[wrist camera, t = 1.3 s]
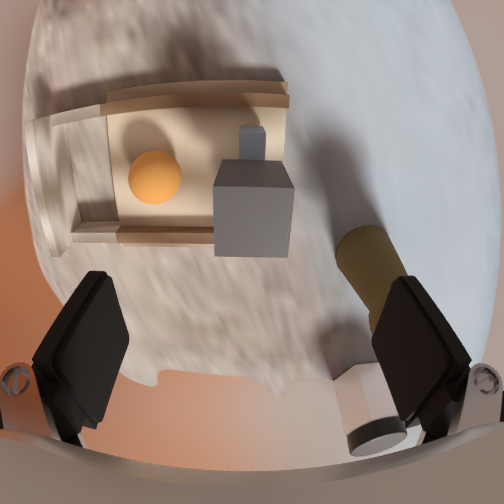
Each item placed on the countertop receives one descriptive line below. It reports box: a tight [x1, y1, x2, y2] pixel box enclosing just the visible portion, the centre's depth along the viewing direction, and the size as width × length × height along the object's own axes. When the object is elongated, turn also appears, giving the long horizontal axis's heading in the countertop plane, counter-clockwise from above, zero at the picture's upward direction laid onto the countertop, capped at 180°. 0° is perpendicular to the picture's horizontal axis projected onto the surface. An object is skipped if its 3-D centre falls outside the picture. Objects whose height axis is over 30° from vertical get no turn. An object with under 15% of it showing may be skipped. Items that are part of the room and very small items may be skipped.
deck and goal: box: [24, 80, 289, 257], centre depth 21 cm, size 14×20×5 cm
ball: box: [128, 150, 181, 204], centre depth 20 cm, size 4×4×4 cm
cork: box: [336, 226, 408, 334], centre depth 23 cm, size 6×6×11 cm
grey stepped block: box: [213, 126, 295, 258], centre depth 18 cm, size 7×4×9 cm, turn 178°
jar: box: [333, 362, 407, 457], centre depth 34 cm, size 9×8×12 cm
